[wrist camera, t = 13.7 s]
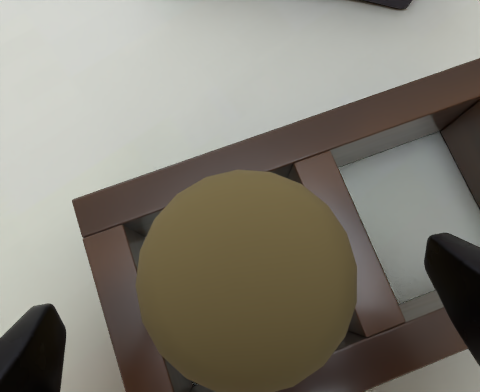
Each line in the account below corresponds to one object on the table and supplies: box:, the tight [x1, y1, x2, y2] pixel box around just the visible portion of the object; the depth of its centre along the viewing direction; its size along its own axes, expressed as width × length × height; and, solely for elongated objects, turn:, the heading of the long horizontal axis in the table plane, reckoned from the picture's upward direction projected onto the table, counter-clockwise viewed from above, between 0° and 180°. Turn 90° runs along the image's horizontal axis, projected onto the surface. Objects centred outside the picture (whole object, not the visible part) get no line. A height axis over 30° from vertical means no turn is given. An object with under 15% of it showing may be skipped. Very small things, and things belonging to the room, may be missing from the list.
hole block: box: [72, 58, 480, 392], centre depth 17 cm, size 10×19×4 cm, turn 110°
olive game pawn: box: [135, 170, 357, 392], centre depth 13 cm, size 6×6×11 cm
